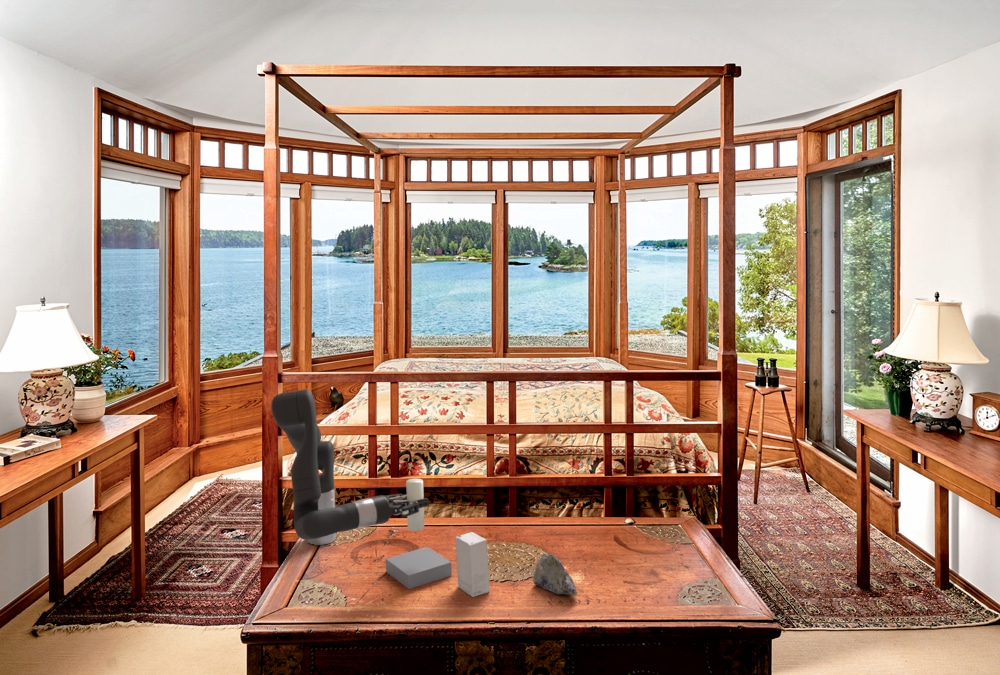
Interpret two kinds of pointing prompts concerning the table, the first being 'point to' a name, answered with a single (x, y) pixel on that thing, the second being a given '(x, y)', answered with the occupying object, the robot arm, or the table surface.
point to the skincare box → (472, 564)
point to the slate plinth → (418, 567)
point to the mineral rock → (553, 576)
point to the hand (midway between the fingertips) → (423, 499)
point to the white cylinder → (414, 494)
